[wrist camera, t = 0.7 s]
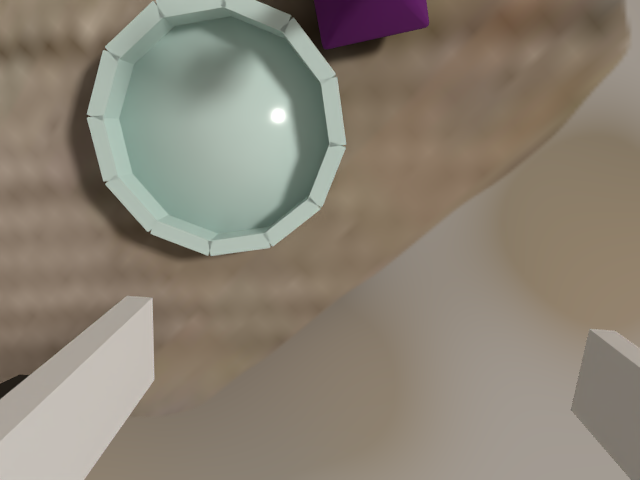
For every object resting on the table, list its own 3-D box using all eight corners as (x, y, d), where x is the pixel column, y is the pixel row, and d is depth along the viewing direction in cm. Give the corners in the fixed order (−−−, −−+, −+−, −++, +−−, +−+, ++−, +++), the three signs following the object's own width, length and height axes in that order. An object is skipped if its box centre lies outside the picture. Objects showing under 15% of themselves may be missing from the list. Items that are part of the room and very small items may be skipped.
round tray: (66, 112, 36) (38, 110, 33) (238, -50, 33) (227, -71, 30) (217, 283, 39) (206, 298, 36) (388, 149, 36) (394, 151, 33)
